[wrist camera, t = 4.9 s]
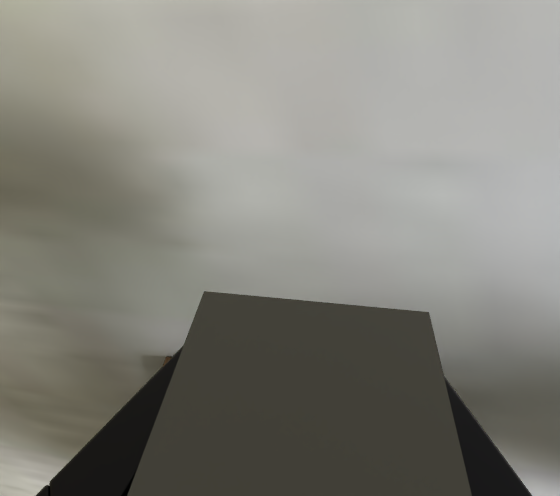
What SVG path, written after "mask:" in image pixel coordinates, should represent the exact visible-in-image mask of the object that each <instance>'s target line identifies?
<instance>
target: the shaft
mask: <svg viewBox="0 0 560 496" xmlns="http://www.w3.org/2000/svg"><path fill="white" fill-rule="evenodd" d="M127 496H472V494H471V490H470V486H469V482H468V477H467V473H466V469H465V464H464V460H463V456H462V452H461V447H460V443H459V439H458V435H457V430H456V426H455V422H454V418H453V413H452V409H451V405H450V400H449V396H448V392H447V388H446V383H445V379H444V375H443V371H442V366H441V362H440V358H439V354H438V349H437V345H436V341H435V336H434V332H433V328H432V324H431V319H430V315H429V312H420V311H409V310H398V309H388V308H377V307H366V306H356V305H345V304H334V303H323V302H313V301H302V300H291V299H281V298H270V297H259V296H248V295H238V294H227V293H216V292H206V291H204V293H203V296H202V298H201V301H200V304H199V306H198V309H197V312H196V314H195V317H194V320H193V322H192V325H191V328H190V330H189V333H188V336H187V338H186V341H185V344H184V346H183V349H182V352H181V354H180V357H179V360H178V362H177V365H176V368H175V370H174V373H173V375H172V378H171V381H170V383H169V386H168V389H167V391H166V394H165V397H164V399H163V402H162V405H161V407H160V410H159V413H158V415H157V418H156V421H155V423H154V426H153V429H152V431H151V434H150V437H149V439H148V442H147V445H146V447H145V450H144V452H143V455H142V458H141V460H140V463H139V466H138V468H137V471H136V474H135V476H134V479H133V482H132V484H131V487H130V490H129V492H128V495H127Z"/></svg>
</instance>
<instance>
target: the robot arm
mask: <svg viewBox="0 0 560 496" xmlns="http://www.w3.org/2000/svg"><path fill="white" fill-rule="evenodd" d="M182 349H183V347H182V348H181V349H180V350H179V351H178V352H177V353H176V354H175V355H174V356H173V357H172V358H171V359H170V360H169V361H168V362H167V363H166V364H165V365H164V366H163V367H162V368H161V369H160V370H159V371H158V372H157V373H156V374H155V375H154V376H153V377H152V378H151V379H150V380H149V381H148V382H147V383H146V384H145V385H144V386H143V387H142V388H141V389H140V390H139V391H138V392H137V393H136V394H135V395H134V396H133V398H132V399H131V400H130V401H129V402H128V403H127V404H126V405H125V406H124V407H123V408H122V409H121V410H120V411H119V412H118V413H117V414H116V415H115V416H114V417H113V418H112V419H111V420H110V421H109V422H108V423H107V424H106V425H105V426H104V427H103V428H102V429H101V430H100V431H99V432H98V433H97V434H96V435H95V436H94V437H93V438H92V439H91V440H90V441H89V442H88V443H87V444H86V445H85V446H84V447H83V448H82V449H81V450H80V451H79V452H78V453H77V454H76V456H75V457H74V458H73V459H72V460H71V461H70V462H69V463H68V464H67V465H66V466H65V467H64V468H63V469H62V470H61V471H60V472H59V473H58V474H57V475H56V476H55V477H54V478H53V479H52V480H51V481H50V484H49V485H46V486H45V487H44V488H43V489H42V490H41V491H40V492H39V493H38V494H37V495H36V496H127V495H128V492H129V490H130V487H131V484H132V482H133V479H134V476H135V474H136V471H137V468H138V466H139V463H140V460H141V458H142V455H143V452H144V450H145V447H146V445H147V442H148V439H149V437H150V434H151V431H152V429H153V426H154V423H155V421H156V418H157V415H158V413H159V410H160V407H161V405H162V402H163V399H164V397H165V394H166V391H167V389H168V386H169V383H170V381H171V378H172V375H173V373H174V370H175V368H176V365H177V362H178V360H179V357H180V354H181V352H182ZM444 379H445V383H446V388H447V392H448V396H449V400H450V405H451V409H452V413H453V418H454V422H455V426H456V430H457V435H458V439H459V443H460V447H461V452H462V456H463V460H464V464H465V469H466V473H467V477H468V482H469V486H470V490H471V494H472V496H532V495H531V493H530V492H529V491H528V489H527V488H526V487H525V485H524V484H523V483H522V481H521V480H520V478H519V477H518V476H517V474H516V473H515V472H514V470H513V469H512V468H511V466H510V465H509V464H508V462H507V461H506V459H505V458H504V457H503V455H502V454H501V453H500V451H499V450H498V449H497V447H496V446H495V445H494V443H493V442H492V440H491V439H490V438H489V436H488V435H487V434H486V432H485V431H484V430H483V428H482V427H481V426H480V424H479V423H478V421H477V420H476V419H475V417H474V416H473V415H472V413H471V412H470V411H469V409H468V408H467V407H466V405H465V404H464V402H463V401H462V400H461V398H460V397H459V396H458V394H457V393H456V392H455V390H454V389H453V388H452V386H451V385H450V384H449V382H448V381H447V379H446V378H445V377H444Z"/></svg>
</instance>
